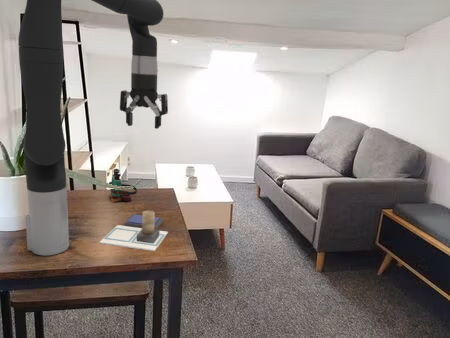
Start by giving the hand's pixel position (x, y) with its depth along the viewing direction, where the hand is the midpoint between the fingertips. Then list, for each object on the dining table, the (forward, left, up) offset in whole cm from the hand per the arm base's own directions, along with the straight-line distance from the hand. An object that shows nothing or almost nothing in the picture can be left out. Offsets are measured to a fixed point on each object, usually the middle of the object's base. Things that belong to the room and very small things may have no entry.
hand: (143, 126), depth 119 cm
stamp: (+7, -14, -30) cm, 34 cm away
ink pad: (+2, -4, -30) cm, 30 cm away
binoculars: (-13, +15, -30) cm, 36 cm away
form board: (+3, -14, -30) cm, 33 cm away
